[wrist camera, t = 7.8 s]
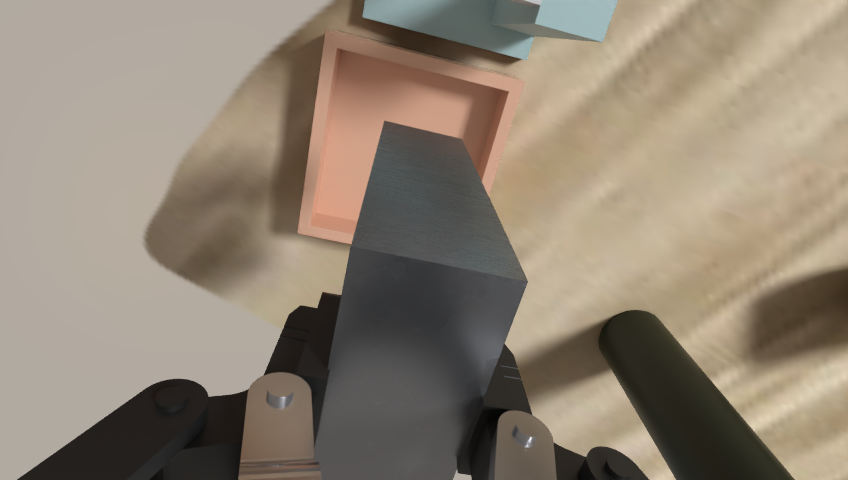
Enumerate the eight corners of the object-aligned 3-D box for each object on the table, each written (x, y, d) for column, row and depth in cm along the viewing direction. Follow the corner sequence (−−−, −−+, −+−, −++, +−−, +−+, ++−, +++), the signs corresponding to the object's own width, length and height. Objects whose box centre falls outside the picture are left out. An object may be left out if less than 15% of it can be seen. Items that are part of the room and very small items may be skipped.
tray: (333, 29, 31) (325, 30, 28) (514, 76, 32) (525, 81, 29) (306, 216, 36) (297, 233, 33) (462, 248, 38) (466, 267, 35)
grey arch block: (384, 120, 21) (351, 246, 9) (461, 138, 21) (528, 281, 9) (352, 280, 24) (297, 525, 12) (419, 293, 25) (429, 542, 13)
